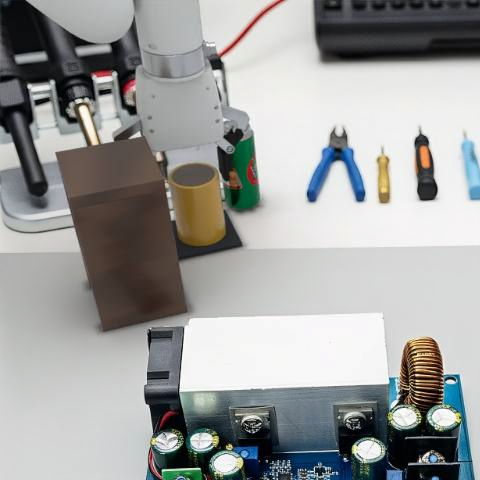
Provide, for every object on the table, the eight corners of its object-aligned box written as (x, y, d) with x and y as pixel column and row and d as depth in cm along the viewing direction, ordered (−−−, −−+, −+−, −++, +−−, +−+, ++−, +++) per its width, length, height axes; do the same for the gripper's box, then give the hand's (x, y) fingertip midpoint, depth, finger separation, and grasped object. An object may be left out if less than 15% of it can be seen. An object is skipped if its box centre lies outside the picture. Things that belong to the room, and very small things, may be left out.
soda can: (218, 202, 143) (207, 125, 134) (246, 189, 145) (238, 113, 137) (239, 216, 140) (229, 139, 132) (267, 203, 142) (260, 127, 134)
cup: (184, 251, 133) (174, 192, 127) (172, 225, 137) (162, 167, 131) (232, 239, 135) (224, 181, 129) (218, 215, 139) (210, 157, 133)
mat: (177, 260, 132) (176, 257, 132) (162, 225, 138) (161, 222, 138) (242, 246, 135) (242, 243, 134) (225, 212, 141) (225, 209, 140)
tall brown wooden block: (103, 331, 121) (68, 197, 108) (88, 283, 128) (54, 152, 115) (187, 311, 124) (164, 179, 111) (169, 265, 131) (144, 135, 118)
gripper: (235, 35, 124) (245, 158, 136) (94, 54, 119) (117, 179, 130) (251, 60, 119) (260, 185, 131) (105, 80, 114) (128, 209, 125)
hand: (189, 182), depth 130 cm, fingers open, 9 cm apart
